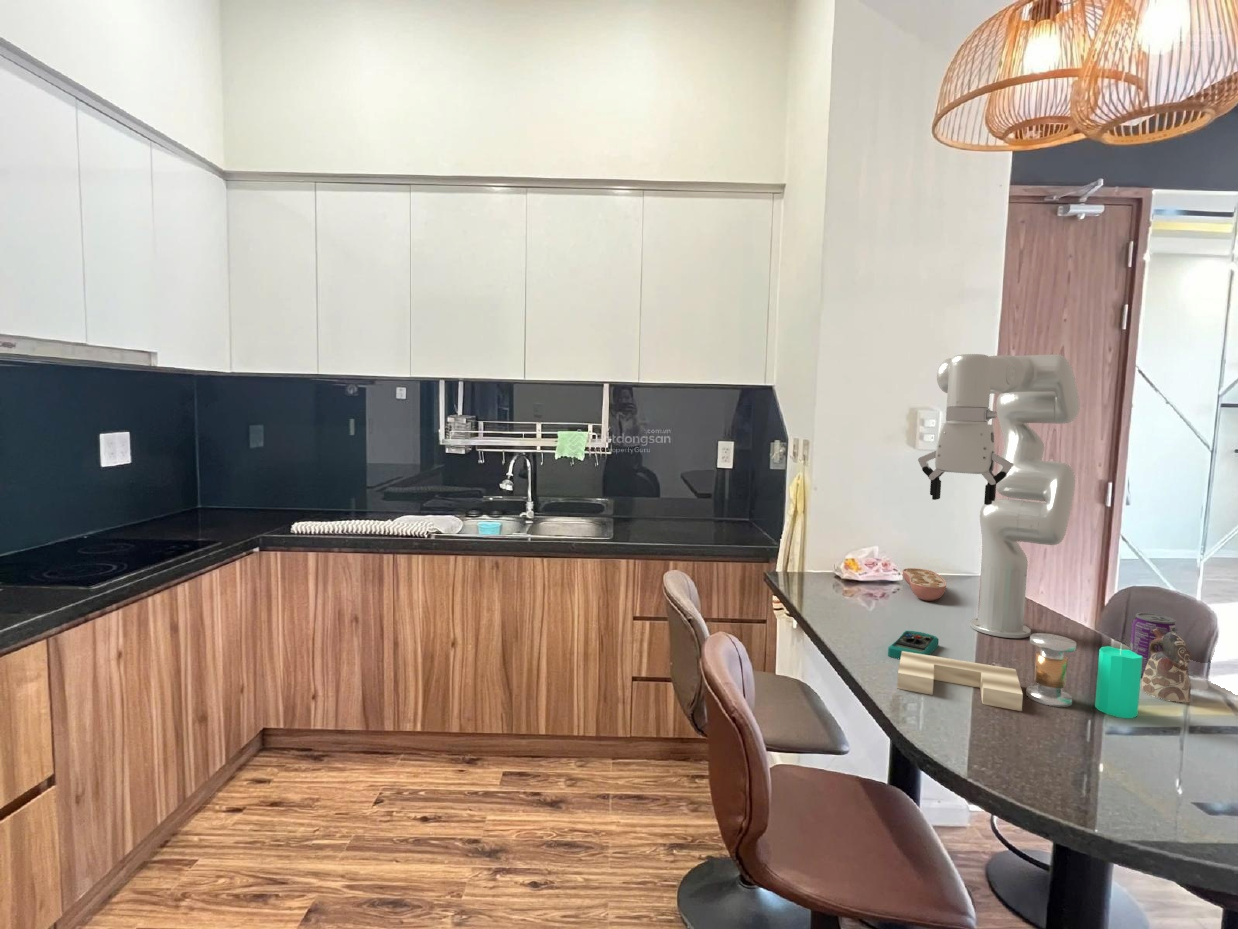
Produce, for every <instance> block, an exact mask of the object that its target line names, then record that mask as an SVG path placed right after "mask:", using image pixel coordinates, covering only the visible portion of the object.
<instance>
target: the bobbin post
mask: <svg viewBox="0 0 1238 929" xmlns="http://www.w3.org/2000/svg"><path fill="white" fill-rule="evenodd" d="M1029 643H1030V644H1032V645H1033V646H1035V647H1038V648H1040V650H1038V651H1036V652H1035V661H1034V662H1035V665H1034V666H1035V667H1034V676H1033V677H1034V680H1033V681H1034V682H1035V683H1037V685H1029V686H1027V687H1026V691H1025V695H1026V697H1027V696H1028V697H1027V698H1028V699H1030V700H1032V701H1033V702H1036V703H1039V704H1041V705H1045V706H1048V705H1049V707H1055V708H1068V707H1071V706H1072V705H1073V697H1072V695H1071V694H1070V693H1068V692H1066V691H1064V690H1063V689H1064V688H1066V686H1067V675H1068V674H1067V671H1068V659H1069V658H1068V657H1067V656H1066V655H1065V653H1069V652H1070V653H1071V652H1072V653H1073V652H1075V651H1076V650H1077V641H1075V640H1073V639H1071V638H1068V637H1066V636H1061V635H1058V634H1054V633H1053V634H1052V633H1044V632H1037V633H1031V635H1030V636H1029Z"/></svg>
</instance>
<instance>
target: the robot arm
mask: <svg viewBox="0 0 1238 929" xmlns="http://www.w3.org/2000/svg"><path fill="white" fill-rule="evenodd" d="M936 381H937V385H938V387H939V389H940V390H941V391H942V392H944V393H945V394H947V398H946V411H945V413H946V414H945V423H941V427H940V430H939V435H938V440H937V443H936V450H934V451H932V452H930V453H927V454H925V455H923V456H920V457H918V459H917V461H918V463H919V465H920V467H921V471H922V472H923V474H925V475H926V476H927V477H928V479H929V480H930V484H929V486H930V487H929V494H930V496H932V498H931V500H932V501H937V500H939V499H941V492H942V491H941V488H942V480H941V479H940V478H941V476H943V475H944V473H956V474H968V475H969V474H970V475H971V474H972V475H981V476H982V477H983V478H984V479H985V480H986V481H987V484H985V488H984V501H983V502H984V504H983V505H982V506H981V509H980V511H979V513H980V514H979V523H980V532H981V541H982V542H981V547H982V548H981V562H980V563H981V567H980V579H979V580H980V581H979V594H978V595H979V598H978V613H977V617H974V618H973V619H971V620H970V627H971V628H972V629H974V631H978V633H983V634H986V635H990V636H994V637H1000V638H1007V639H1025V638H1028V637H1030V635H1031V634H1032V629H1031V628H1030V627H1028V626H1026V625H1025V623H1024V619H1025V606H1026V605H1025V604H1026V590H1027V579H1028V578H1027V577H1028V576H1027V575H1028V566H1029V565H1028V563H1029V562H1028V557H1027V555H1026V553H1025V552H1024V550H1023V549H1022V547H1021V546H1020V544H1019V543H1021V542H1022V543H1031V544H1038V545H1046V546H1055V545H1059V544H1061V543H1062V542H1063V540H1064V538H1065V536H1066V533H1067V529H1068V524H1069V520H1070V515H1071V508H1072V505H1073V499H1074V498H1073V497H1074V495H1075V486H1076V485H1075V484H1076V479H1075V478H1076V477H1075V476H1076V475H1075V472H1074V470H1073V468H1072V466H1071V465H1069V464H1068V463H1065V462H1061V461H1052V460H1051V461H1049V460H1043V456H1044V451H1045V443H1044V442H1043V439H1042V438H1041V437H1040V436H1039V434H1038V433H1037V432H1036V431H1035V430H1034V429H1032V427H1030V426H1029V424H1051V425H1052V424H1059V425H1060V424H1062V425H1063V424H1069V423H1071V422H1073V421H1074V420H1075V419H1077V417H1078V414H1079V412H1080V396H1079V392H1078V391H1079V390H1078V388H1077V383H1076V378H1075V373H1074V370H1073V367H1072V366H1071V363H1070V362H1069V360H1068V359H1067V358H1066V357H1065V356H1064V355H1061V354H1057V353H1056V354H1030V355H1028V354H1027V355H1012V354H1011V355H1010V354H1009V355H1008V354H1002V355H998V354H997V355H991V356H989V355H988V354H987V355H986V354H980V353H965V354H957V355H954V356H953V357H950V358H947V359H944V360H943V361H942V362H941V364H940V365H939V367H938V369H937V372H936ZM990 394H991V395H993V394H997V395H998V394H999V395H998V396H997V398H996V402H995V404H996V407H995V408H996V411H993V410H991V408H990V397H991V396H990ZM996 418H997V420H998V424H999V427H1000V430H1001V433H1002V437H1003V448H1002V451H1001V452H1002V453H1001V455H998V454H997V453H995V433H994V425H993V424H989V422H990V420H991V419H996ZM934 459H935V460H934ZM931 460H934V464H935V469H934V470H933V469H932V468H931V467H930V466H929V461H931ZM995 463H997V464H999V465H998V470H997V474H994V472H993V471H994V469H995ZM996 490H997V491H996ZM996 492H997V493H998V494H999V495H1001V496H1003V497H1006V498H996V495H997V494H996ZM1009 498H1010V499H1009ZM1027 500H1028V501H1027ZM1036 501H1037V502H1036ZM1018 542H1019V543H1018Z"/></svg>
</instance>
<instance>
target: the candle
mask: <svg viewBox="0 0 1238 929" xmlns="http://www.w3.org/2000/svg"><path fill="white" fill-rule="evenodd" d="M1122 647H1123V643H1120V648H1116V647H1114V646H1113V647H1112V646H1110V645H1108V646H1101V647H1100V648H1099V651H1098V654H1099V655H1098V663H1097V664H1098V665H1097V676H1096V677H1097V678H1096V687H1095V688H1096V689H1095V690H1096V691H1095V703H1094V707H1095V708H1096V709H1097V710H1098V711H1100V712H1102V713H1104V714H1106V715H1108V716H1109V715H1110V716H1112V717H1116V718H1121V719H1134V718H1133V717H1136V716H1137V717H1138V715H1139V714H1138V713H1139V703H1140V701H1139V700H1140V691H1141V681H1142V679H1141V678H1142V677H1141V668H1142V656H1140V655H1137V654H1136V653H1134V652H1132V651H1131V650H1130V649H1123V648H1122ZM1137 717H1136V718H1137Z"/></svg>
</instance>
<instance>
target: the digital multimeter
mask: <svg viewBox="0 0 1238 929" xmlns="http://www.w3.org/2000/svg"><path fill="white" fill-rule="evenodd" d="M939 642H940V640H939V638H938V637H937V636H935V635H933V634H929V633H925V632H921V631H914V630H905V631H903V632H902V634H901V635H900V636H899V638H897V640H896V641H894V642H893V643H891V645H889V646H888V648H887V656H888V657H889V656H890V657H889V658H892V657H895V658H894V659H896V658H899V659H898V660H900V658H901V653H902V651H905V652H911V653H917V654H924V655H930V656H931V654H933V653H934V652H935V650H936V649H938V647H939Z"/></svg>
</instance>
